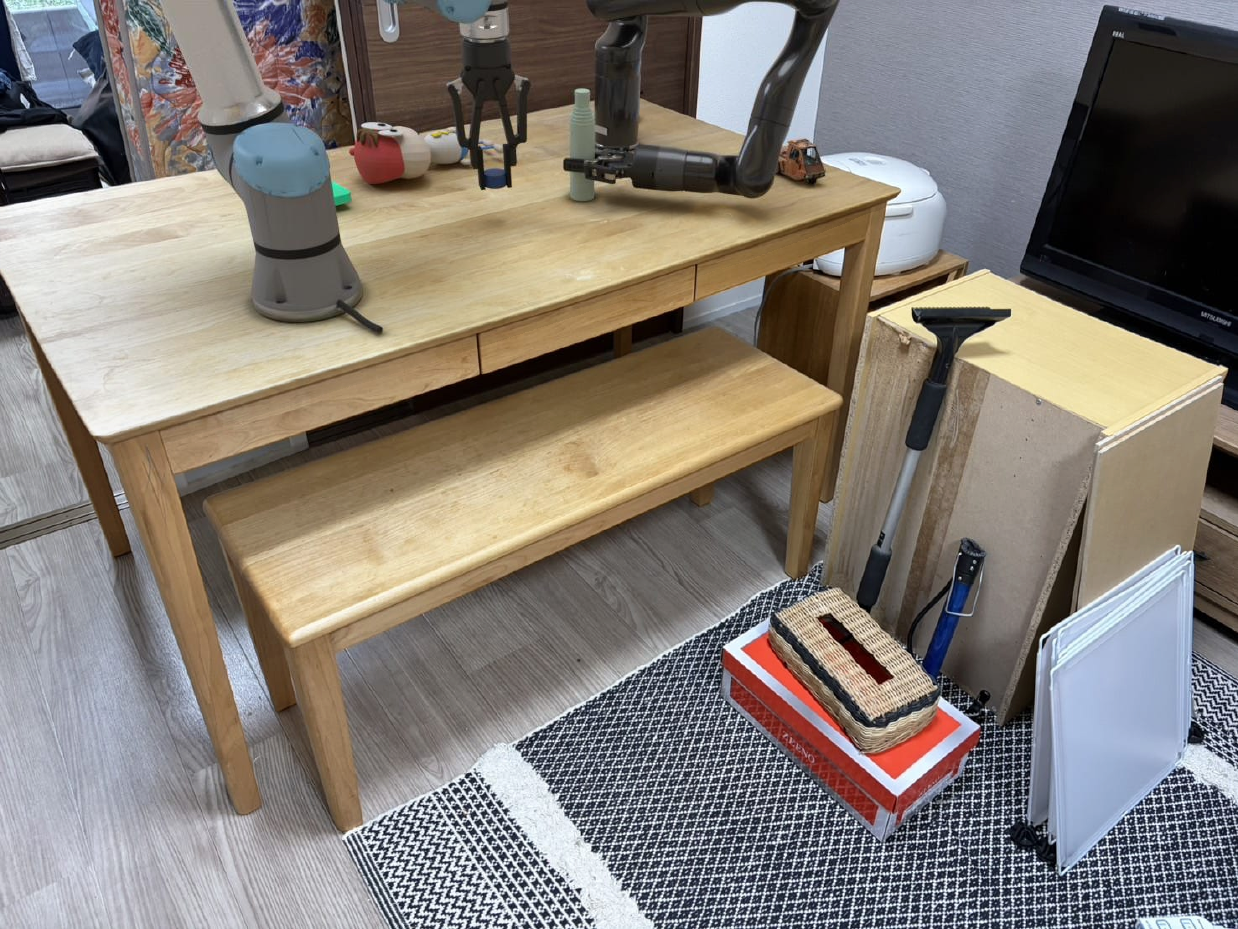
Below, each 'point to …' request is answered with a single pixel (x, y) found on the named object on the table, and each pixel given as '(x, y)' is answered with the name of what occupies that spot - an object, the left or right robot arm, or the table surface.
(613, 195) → the table surface
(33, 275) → the table surface
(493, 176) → the cap
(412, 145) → the toy
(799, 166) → the toy car
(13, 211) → the table surface
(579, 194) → the bottle
